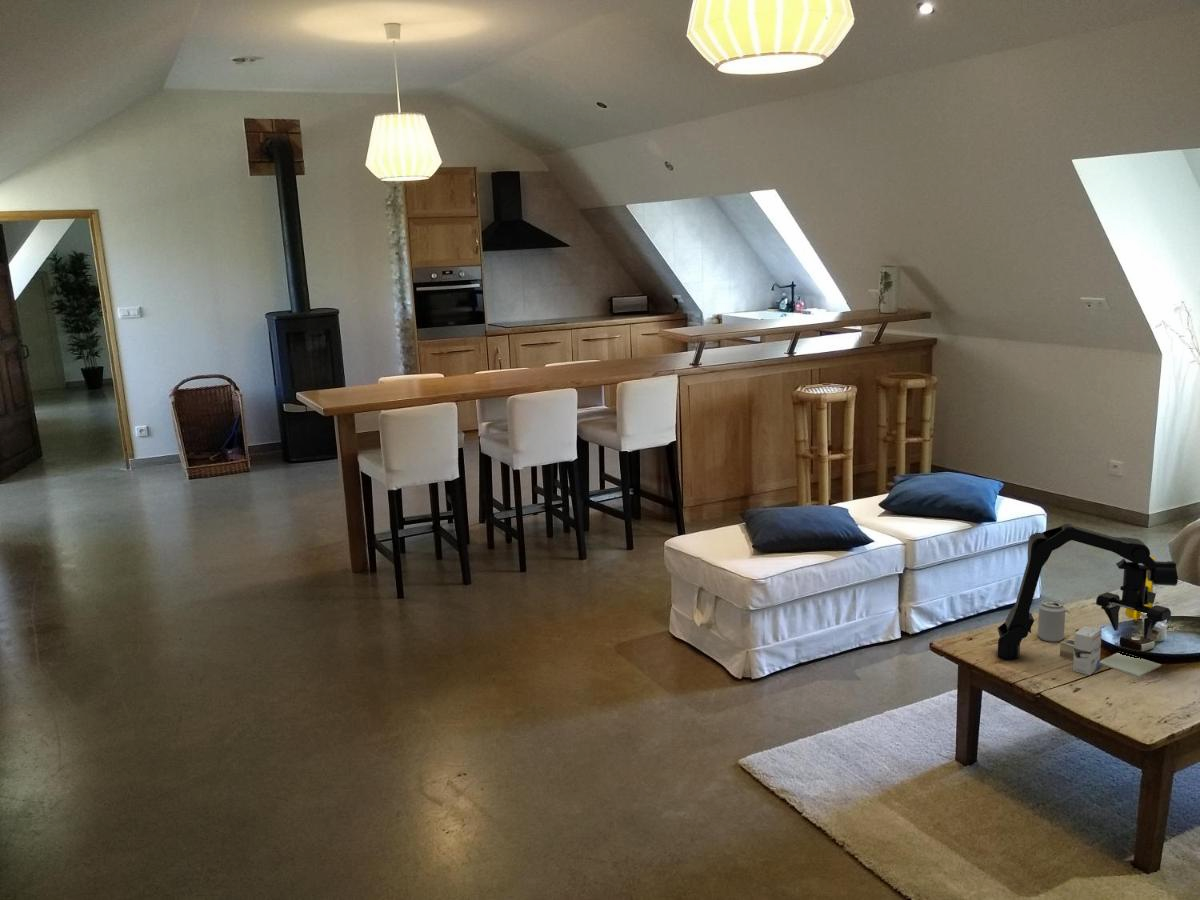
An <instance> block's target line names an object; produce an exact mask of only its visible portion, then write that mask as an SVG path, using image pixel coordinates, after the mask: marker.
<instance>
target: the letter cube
mask: <svg viewBox="0 0 1200 900" xmlns="http://www.w3.org/2000/svg"><path fill="white" fill-rule="evenodd" d="M1059 642H1060V646H1059V647H1060V648H1059V657H1062V658H1065V659H1068V660H1071V661H1073V657H1074V639H1071V638H1067V639H1065V640H1061V641H1059Z"/></svg>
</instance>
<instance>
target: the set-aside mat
mask: <svg viewBox="0 0 1200 900" xmlns="http://www.w3.org/2000/svg"><path fill="white" fill-rule="evenodd" d="M1140 658H1141V657H1139V658H1134V657H1130V656H1126V655H1122V654H1120V653H1118V652H1116V653H1113V654H1112V655H1109V656H1107V657H1105V658H1103V659H1100V666H1104V667H1107V668H1111V669H1114V670H1117V671H1119V672H1123V673H1127V674H1129V675H1132V676H1136V677H1137V678H1140V677H1142V676H1144V675H1146V674H1148V673H1151V672H1152V671H1154V670H1156V669H1158V668H1161V667H1162V664H1161V663H1158V662H1155V661H1151V660H1148V659H1145V658H1141V659H1140Z"/></svg>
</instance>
